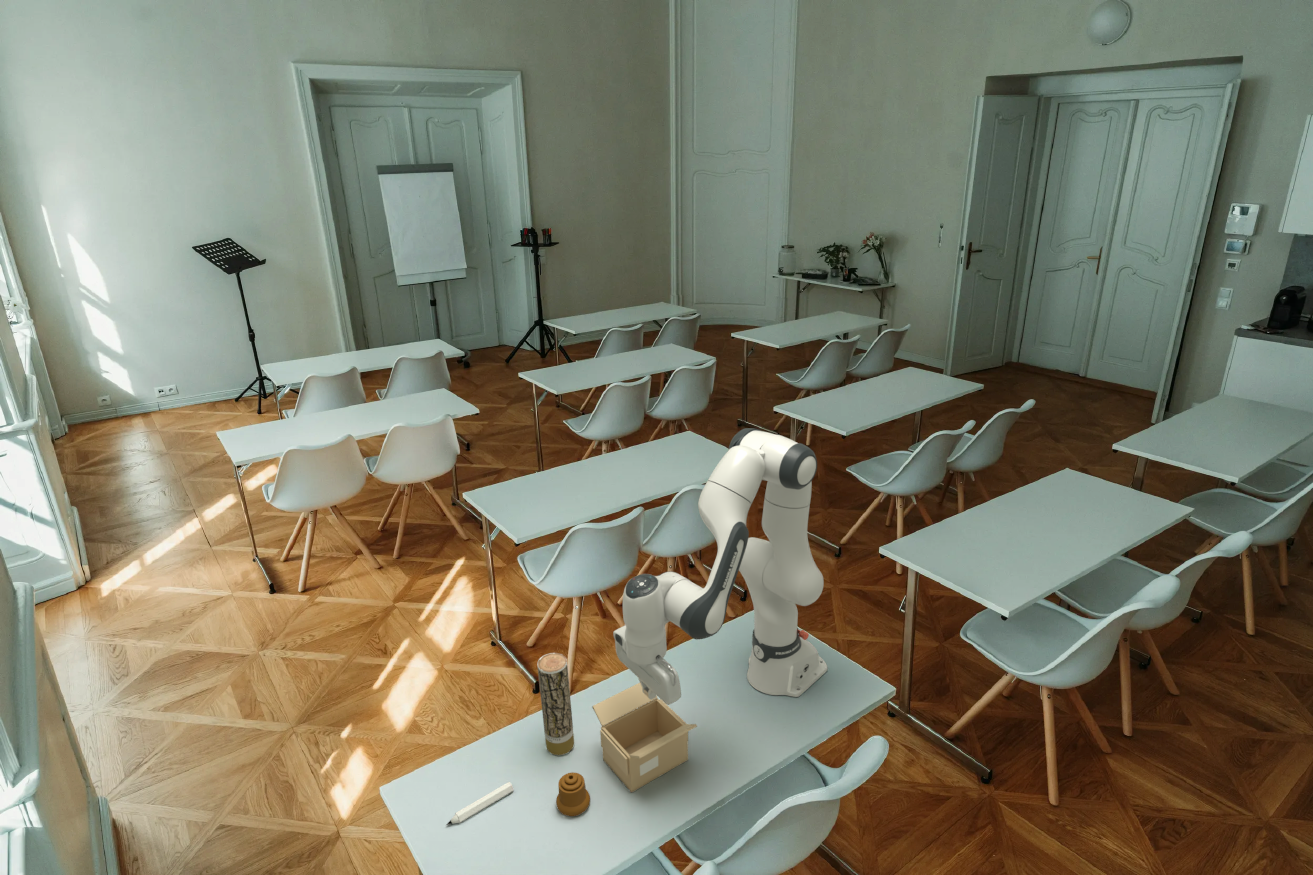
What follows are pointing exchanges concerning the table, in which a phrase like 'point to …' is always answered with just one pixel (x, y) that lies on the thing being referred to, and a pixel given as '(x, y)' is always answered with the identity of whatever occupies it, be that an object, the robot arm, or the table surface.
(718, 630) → the robot arm
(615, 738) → the carton
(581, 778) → the ornamental finial
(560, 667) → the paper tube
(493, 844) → the table surface
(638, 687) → the flap far
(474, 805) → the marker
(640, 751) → the flap near
